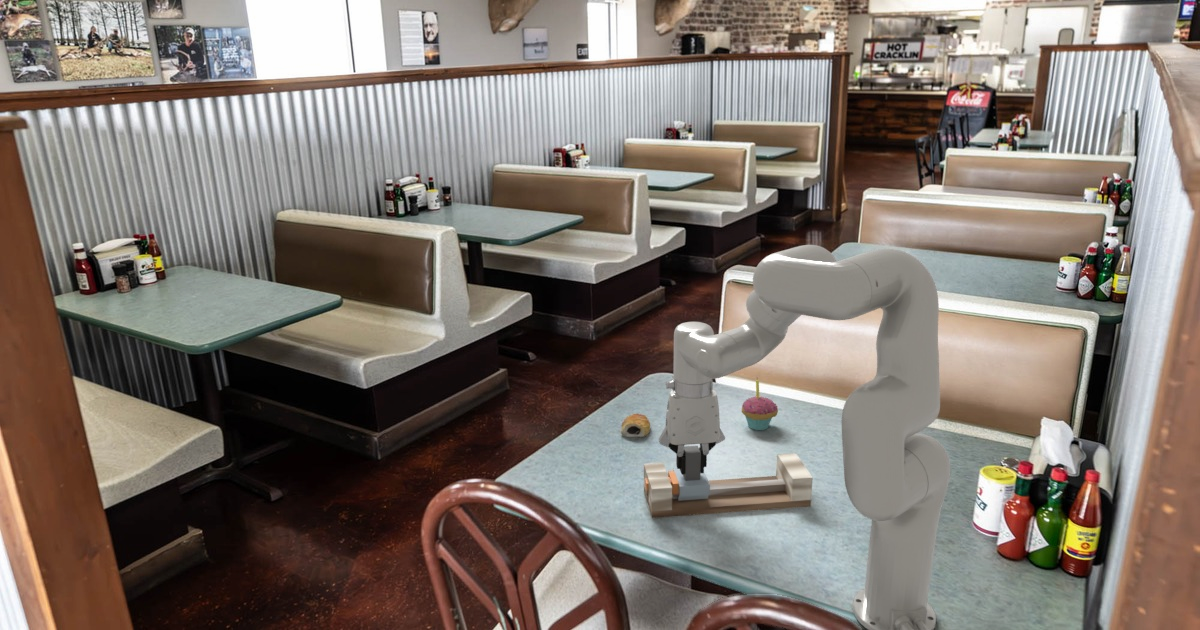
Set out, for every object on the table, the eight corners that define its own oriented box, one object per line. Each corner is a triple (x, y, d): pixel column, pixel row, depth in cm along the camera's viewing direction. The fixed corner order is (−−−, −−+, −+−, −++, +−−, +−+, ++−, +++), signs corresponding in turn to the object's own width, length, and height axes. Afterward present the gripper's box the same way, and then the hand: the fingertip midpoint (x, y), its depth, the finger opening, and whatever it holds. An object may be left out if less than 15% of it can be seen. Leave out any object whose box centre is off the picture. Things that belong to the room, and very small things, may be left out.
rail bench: (810, 506, 163) (812, 477, 161) (651, 518, 160) (651, 489, 158) (794, 480, 172) (795, 453, 170) (643, 491, 169) (643, 463, 167)
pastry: (625, 420, 202) (625, 406, 200) (653, 422, 201) (653, 408, 199) (619, 437, 193) (619, 423, 192) (648, 440, 192) (648, 425, 191)
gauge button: (678, 494, 162) (678, 483, 161) (647, 496, 161) (647, 485, 160) (673, 481, 167) (674, 470, 166) (643, 483, 166) (643, 472, 165)
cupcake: (734, 421, 200) (736, 375, 196) (766, 416, 202) (768, 371, 198) (751, 436, 192) (753, 389, 188) (783, 430, 194) (786, 384, 190)
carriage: (709, 501, 162) (710, 457, 159) (679, 503, 161) (680, 459, 158) (701, 483, 169) (702, 440, 165) (672, 485, 168) (673, 442, 165)
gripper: (654, 396, 153) (653, 483, 159) (739, 391, 155) (736, 477, 161) (647, 380, 160) (647, 464, 166) (729, 375, 162) (726, 458, 168)
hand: (691, 469), depth 163 cm, fingers closed on carriage, 3 cm apart
